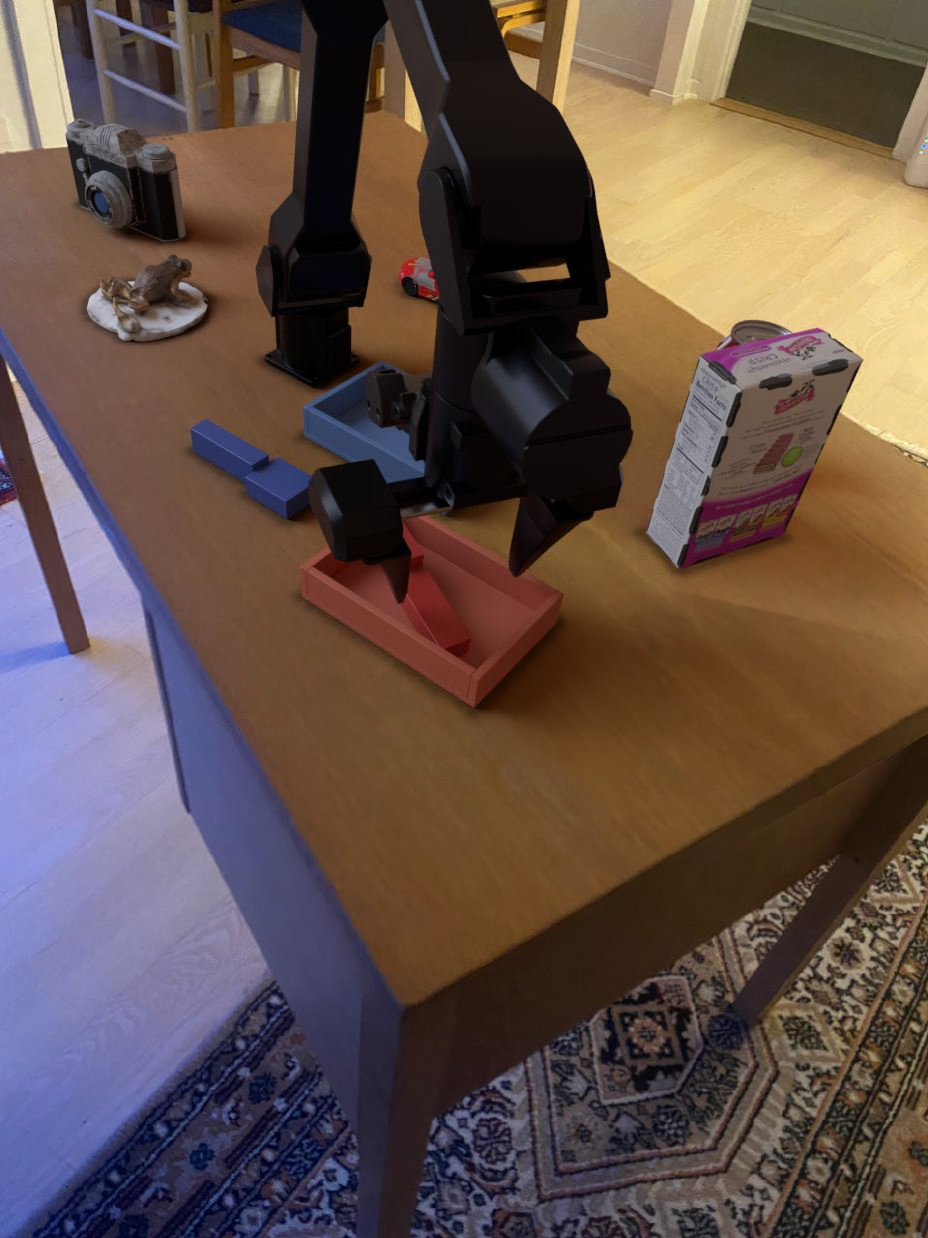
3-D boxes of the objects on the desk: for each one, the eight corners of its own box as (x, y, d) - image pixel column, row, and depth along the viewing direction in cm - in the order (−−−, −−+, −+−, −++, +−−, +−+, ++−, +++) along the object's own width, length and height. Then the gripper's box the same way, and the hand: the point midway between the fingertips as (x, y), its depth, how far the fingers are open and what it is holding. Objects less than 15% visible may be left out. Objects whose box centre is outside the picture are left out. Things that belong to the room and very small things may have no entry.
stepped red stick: (474, 630, 59) (442, 642, 58) (465, 660, 62) (435, 672, 61) (396, 510, 64) (365, 519, 63) (391, 543, 67) (362, 552, 66)
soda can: (758, 489, 78) (811, 366, 69) (680, 473, 78) (723, 349, 69) (756, 444, 82) (805, 324, 74) (683, 430, 83) (723, 308, 74)
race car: (388, 289, 96) (389, 252, 93) (415, 270, 99) (417, 234, 96) (496, 329, 92) (501, 292, 89) (520, 309, 95) (526, 272, 92)
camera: (51, 211, 100) (28, 114, 93) (98, 194, 104) (79, 99, 97) (149, 254, 96) (133, 155, 88) (194, 234, 100) (183, 137, 92)
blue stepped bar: (184, 456, 73) (180, 432, 71) (217, 437, 75) (214, 413, 73) (287, 519, 69) (285, 495, 67) (319, 497, 71) (318, 473, 69)
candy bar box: (745, 500, 76) (820, 323, 65) (784, 537, 74) (870, 359, 62) (639, 532, 72) (698, 349, 60) (676, 572, 69) (745, 388, 57)
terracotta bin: (301, 597, 64) (300, 566, 62) (393, 526, 70) (394, 496, 68) (473, 708, 58) (478, 679, 56) (556, 622, 64) (564, 593, 62)
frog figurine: (158, 266, 94) (152, 230, 91) (235, 311, 89) (231, 274, 87) (60, 301, 87) (51, 263, 85) (138, 351, 83) (130, 312, 80)
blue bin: (303, 436, 76) (302, 406, 74) (380, 388, 83) (381, 359, 80) (445, 516, 71) (448, 486, 69) (516, 459, 77) (521, 430, 75)
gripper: (566, 296, 57) (529, 488, 69) (278, 329, 51) (289, 534, 62) (656, 392, 50) (598, 587, 62) (336, 443, 44) (337, 650, 56)
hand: (457, 585), depth 61 cm, fingers open, 8 cm apart
